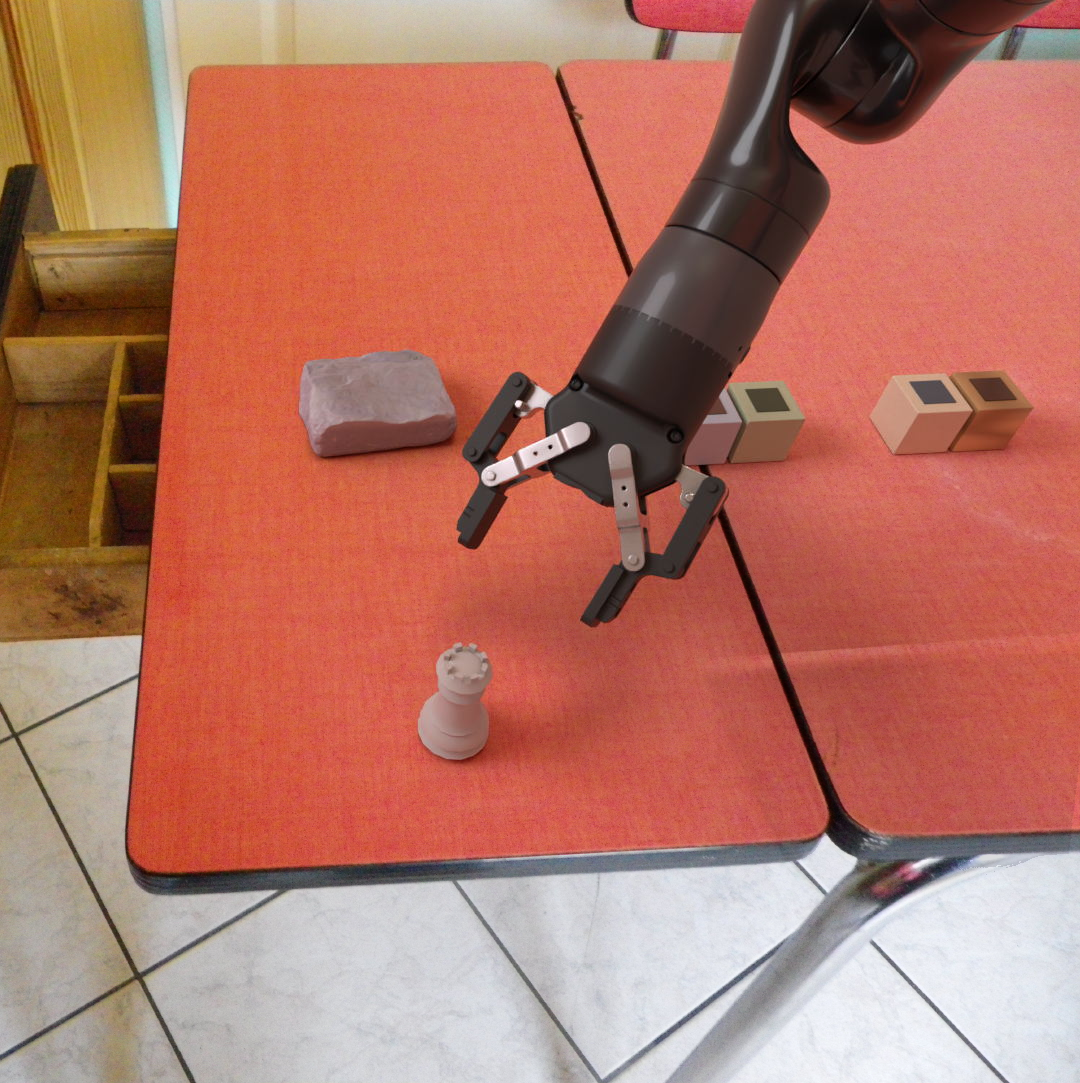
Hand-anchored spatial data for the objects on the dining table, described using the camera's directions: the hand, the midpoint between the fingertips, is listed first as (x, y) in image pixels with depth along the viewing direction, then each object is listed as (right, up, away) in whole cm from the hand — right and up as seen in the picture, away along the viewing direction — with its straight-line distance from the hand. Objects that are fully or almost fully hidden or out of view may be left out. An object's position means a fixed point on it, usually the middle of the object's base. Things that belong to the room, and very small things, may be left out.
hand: (525, 584), depth 57 cm
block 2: (+22, +10, +23) cm, 33 cm away
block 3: (+35, +11, +24) cm, 44 cm away
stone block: (-9, +13, +24) cm, 29 cm away
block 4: (+40, +12, +24) cm, 48 cm away
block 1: (+17, +10, +22) cm, 30 cm away
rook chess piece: (-4, -10, +5) cm, 11 cm away
